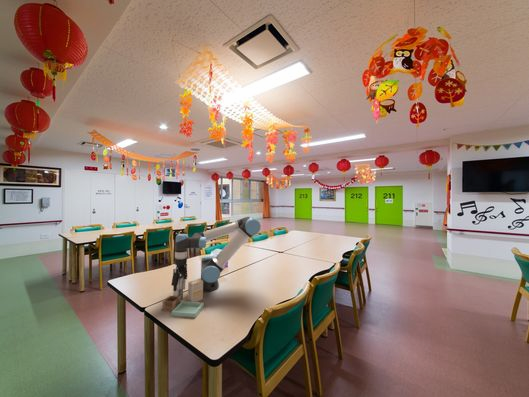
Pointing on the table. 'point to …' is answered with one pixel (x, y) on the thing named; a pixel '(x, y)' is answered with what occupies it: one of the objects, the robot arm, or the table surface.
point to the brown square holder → (171, 303)
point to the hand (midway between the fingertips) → (179, 292)
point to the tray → (188, 309)
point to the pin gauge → (180, 286)
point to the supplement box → (195, 290)
